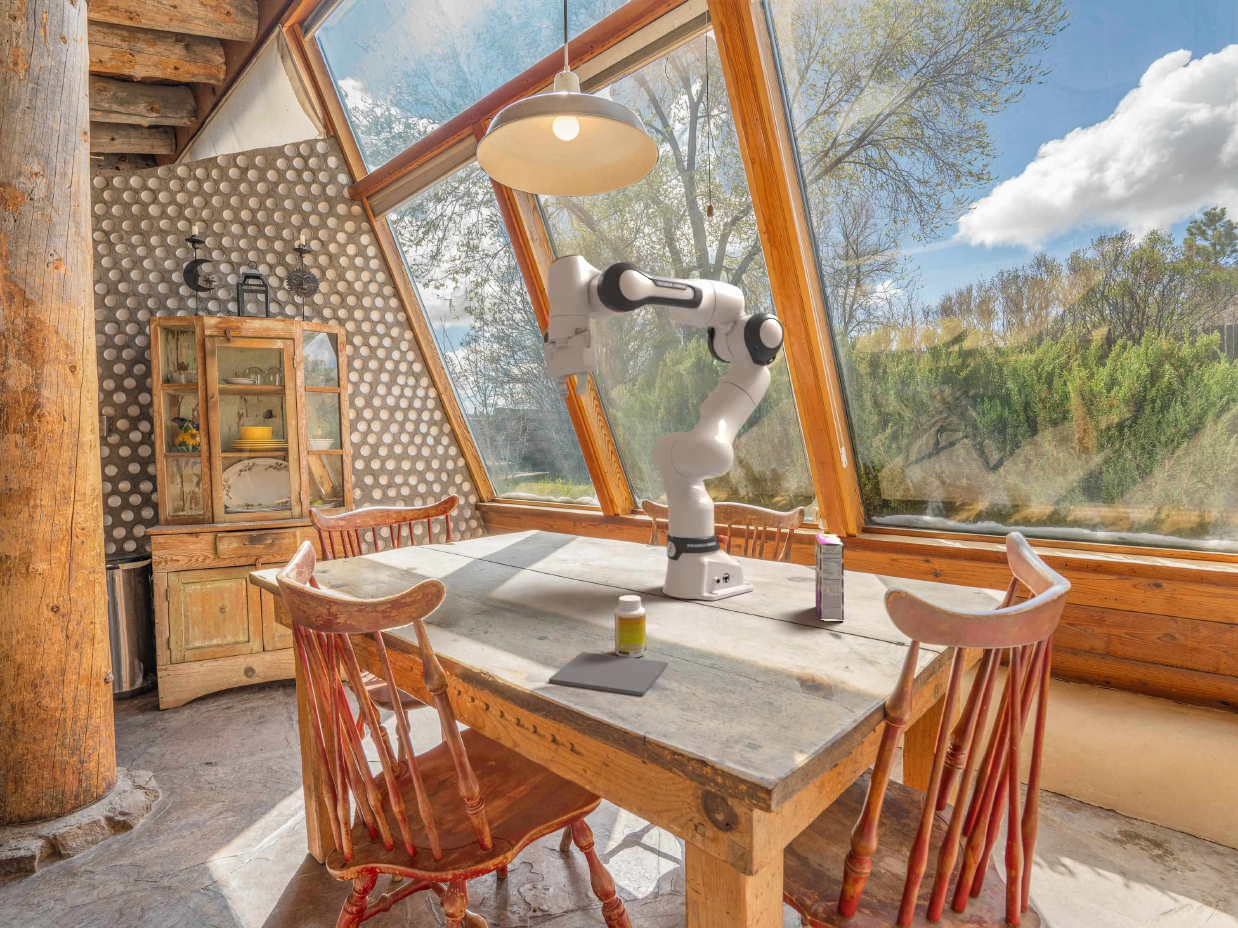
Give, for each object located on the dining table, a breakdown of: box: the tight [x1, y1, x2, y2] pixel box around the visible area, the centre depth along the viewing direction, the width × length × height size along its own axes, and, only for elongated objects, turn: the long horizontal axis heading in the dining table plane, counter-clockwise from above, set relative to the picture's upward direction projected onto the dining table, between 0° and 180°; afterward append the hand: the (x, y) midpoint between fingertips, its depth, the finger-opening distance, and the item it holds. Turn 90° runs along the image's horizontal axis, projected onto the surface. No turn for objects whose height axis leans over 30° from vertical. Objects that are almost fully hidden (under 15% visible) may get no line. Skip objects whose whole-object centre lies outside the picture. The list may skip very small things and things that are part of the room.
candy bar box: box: [814, 533, 845, 621], centre depth 138 cm, size 11×5×16 cm, turn 168°
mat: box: [548, 651, 669, 697], centre depth 107 cm, size 13×16×1 cm
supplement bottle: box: [613, 594, 647, 658], centre depth 116 cm, size 6×6×10 cm
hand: (572, 396), depth 141 cm, fingers open, 8 cm apart
